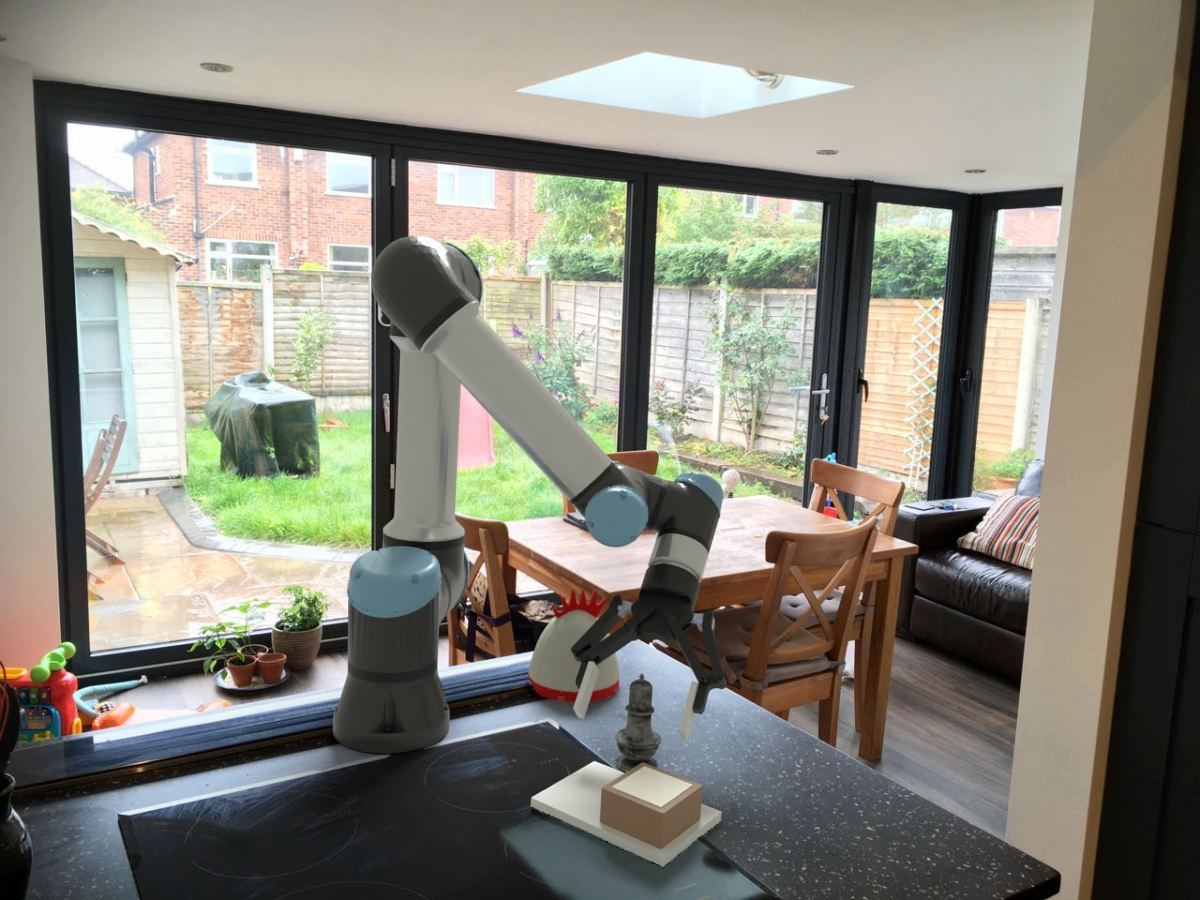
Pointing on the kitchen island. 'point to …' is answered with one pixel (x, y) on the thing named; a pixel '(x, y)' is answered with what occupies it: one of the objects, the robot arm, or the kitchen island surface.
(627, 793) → the build board
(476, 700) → the kitchen island surface
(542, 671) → the kitchen timer
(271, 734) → the kitchen island surface
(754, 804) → the kitchen island surface
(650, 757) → the salt shaker
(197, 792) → the kitchen island surface
